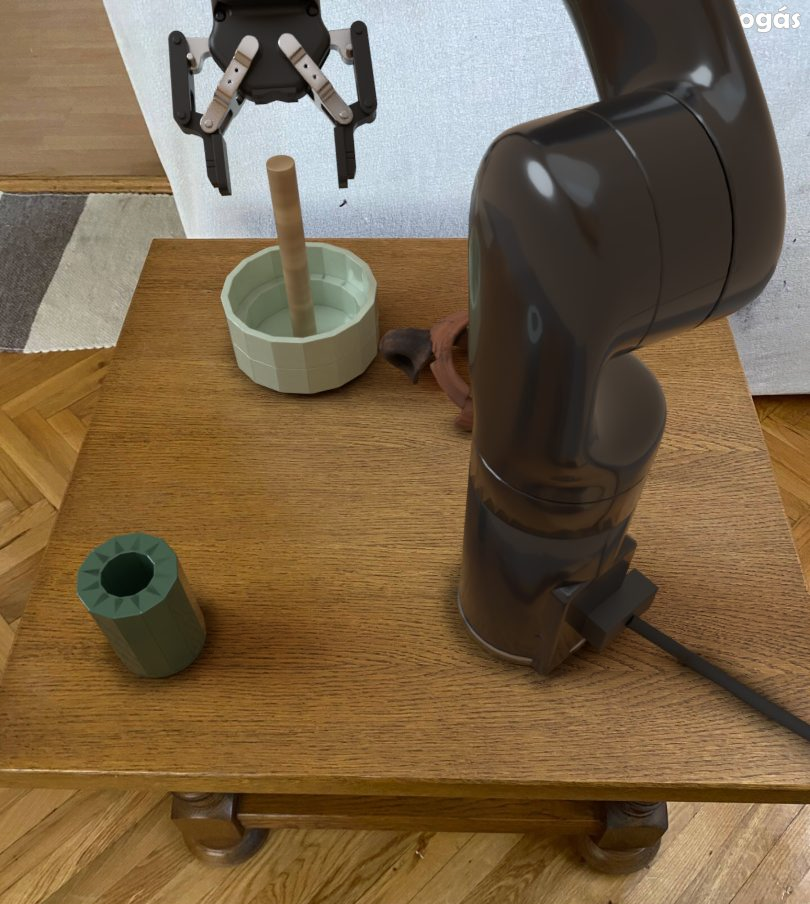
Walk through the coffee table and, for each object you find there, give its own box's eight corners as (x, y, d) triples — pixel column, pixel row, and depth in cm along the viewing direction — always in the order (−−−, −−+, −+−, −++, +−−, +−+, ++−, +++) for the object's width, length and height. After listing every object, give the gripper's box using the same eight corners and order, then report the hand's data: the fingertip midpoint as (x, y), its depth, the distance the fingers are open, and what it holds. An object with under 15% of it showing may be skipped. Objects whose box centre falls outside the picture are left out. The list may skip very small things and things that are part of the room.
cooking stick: (322, 341, 69) (300, 163, 56) (303, 352, 69) (276, 174, 56) (308, 329, 70) (283, 151, 57) (289, 340, 70) (259, 161, 56)
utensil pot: (223, 641, 54) (196, 577, 48) (146, 695, 52) (107, 636, 45) (176, 585, 57) (145, 516, 50) (101, 634, 55) (58, 569, 48)
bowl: (408, 351, 70) (407, 293, 65) (292, 421, 65) (281, 365, 60) (320, 281, 75) (314, 223, 70) (207, 342, 70) (192, 285, 65)
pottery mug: (510, 343, 71) (548, 305, 63) (502, 450, 69) (541, 425, 61) (373, 319, 68) (395, 276, 60) (363, 429, 67) (384, 401, 59)
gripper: (141, -86, 52) (174, 184, 55) (364, -97, 53) (384, 170, 56) (167, -28, 60) (195, 208, 63) (362, -38, 60) (380, 195, 63)
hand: (284, 190), depth 59 cm, fingers open, 8 cm apart
